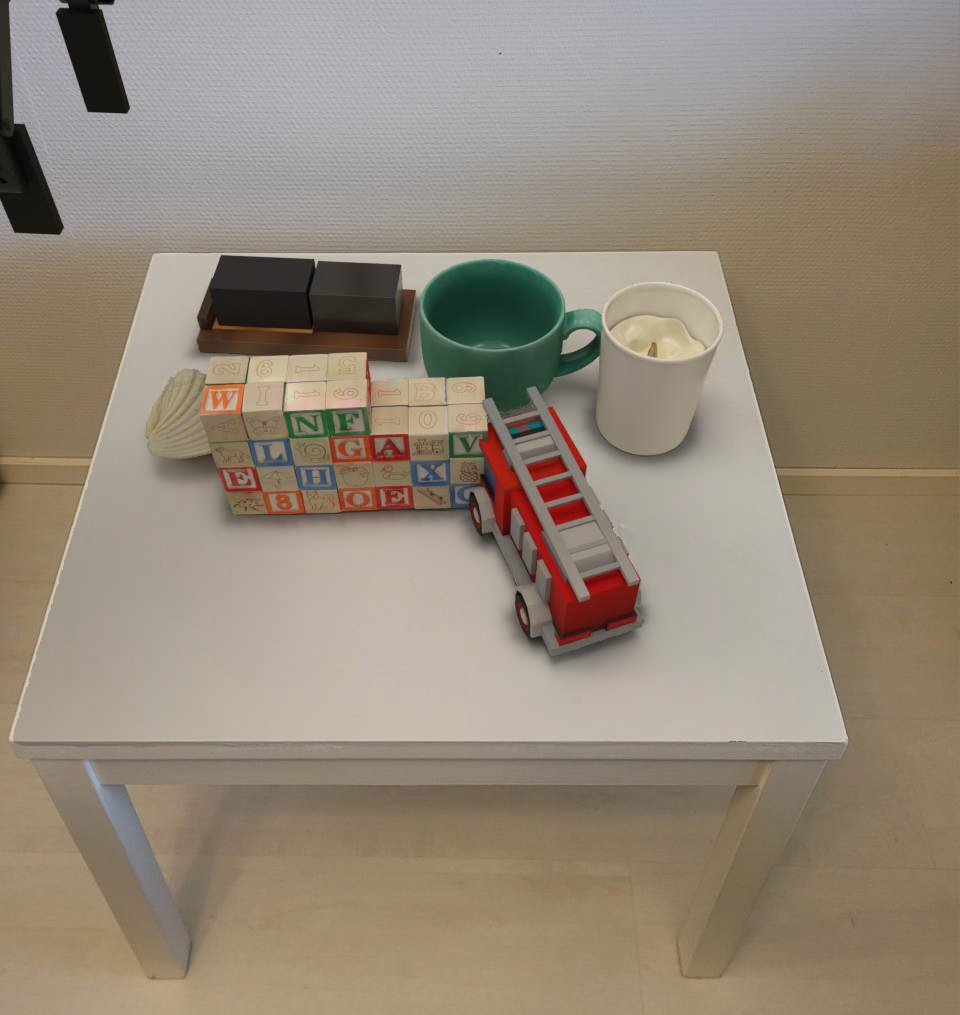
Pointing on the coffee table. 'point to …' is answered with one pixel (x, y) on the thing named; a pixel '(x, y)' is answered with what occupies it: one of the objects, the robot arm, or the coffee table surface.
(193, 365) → the coffee table surface
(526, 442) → the toy fire truck
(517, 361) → the mug
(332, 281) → the brown wooden tray
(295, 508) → the stack of blocks
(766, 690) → the coffee table surface
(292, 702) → the coffee table surface
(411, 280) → the coffee table surface
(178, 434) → the seashell
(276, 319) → the black block
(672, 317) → the candle holder
